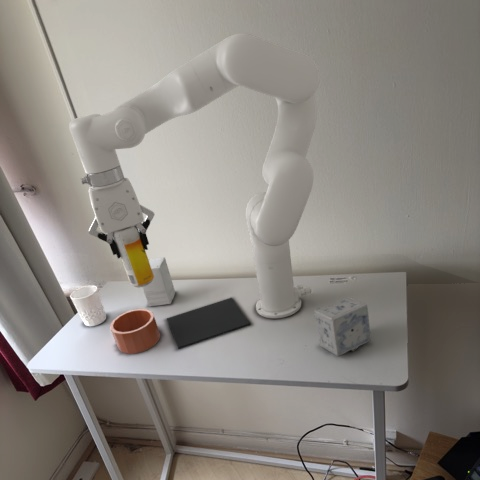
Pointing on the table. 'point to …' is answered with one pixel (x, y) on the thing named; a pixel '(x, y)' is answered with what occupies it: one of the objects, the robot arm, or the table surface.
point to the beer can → (133, 256)
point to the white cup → (89, 305)
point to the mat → (206, 322)
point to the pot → (135, 331)
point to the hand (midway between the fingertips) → (132, 251)
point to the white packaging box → (159, 284)
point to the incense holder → (343, 326)
